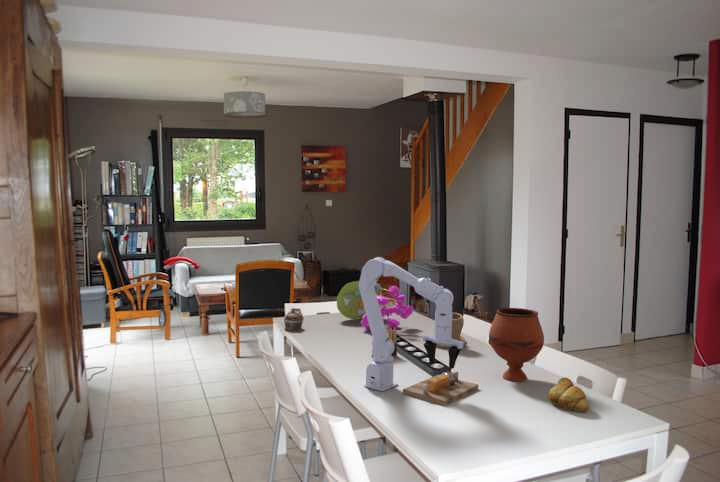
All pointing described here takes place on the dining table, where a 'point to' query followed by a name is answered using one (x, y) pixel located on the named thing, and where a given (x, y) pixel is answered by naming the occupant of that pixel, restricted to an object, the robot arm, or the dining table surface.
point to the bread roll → (568, 396)
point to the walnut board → (441, 391)
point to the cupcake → (293, 320)
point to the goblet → (516, 339)
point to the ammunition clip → (393, 340)
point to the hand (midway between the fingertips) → (441, 365)
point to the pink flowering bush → (354, 307)
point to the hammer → (441, 381)
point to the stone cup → (456, 329)
